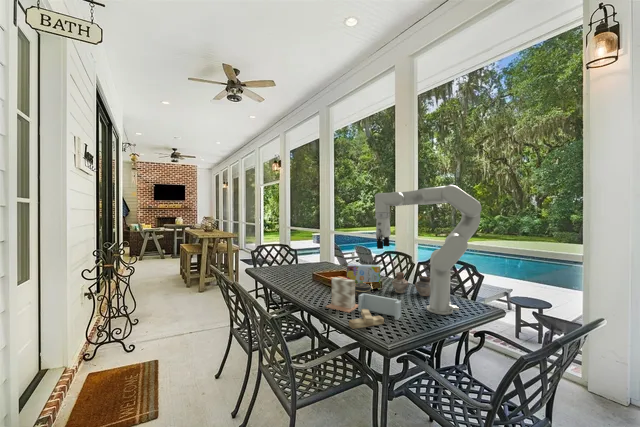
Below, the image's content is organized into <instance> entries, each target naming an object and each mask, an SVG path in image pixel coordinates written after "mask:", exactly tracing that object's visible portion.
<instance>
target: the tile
mask: <svg viewBox="0 0 640 427" xmlns="http://www.w3.org/2000/svg"><path fill="white" fill-rule="evenodd" d="M325 308H327V309H331V310H335V309H336V310H335V311H339V310H340V312H345V313H349V314H350V313H351V312H353V311H354V310H356V309H358V304H357V303H355V307H354V308H352V309H349V308H345V307H340V306H336V305H332V304H331V303H329V304H327V305H326V306H325Z"/></svg>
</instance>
